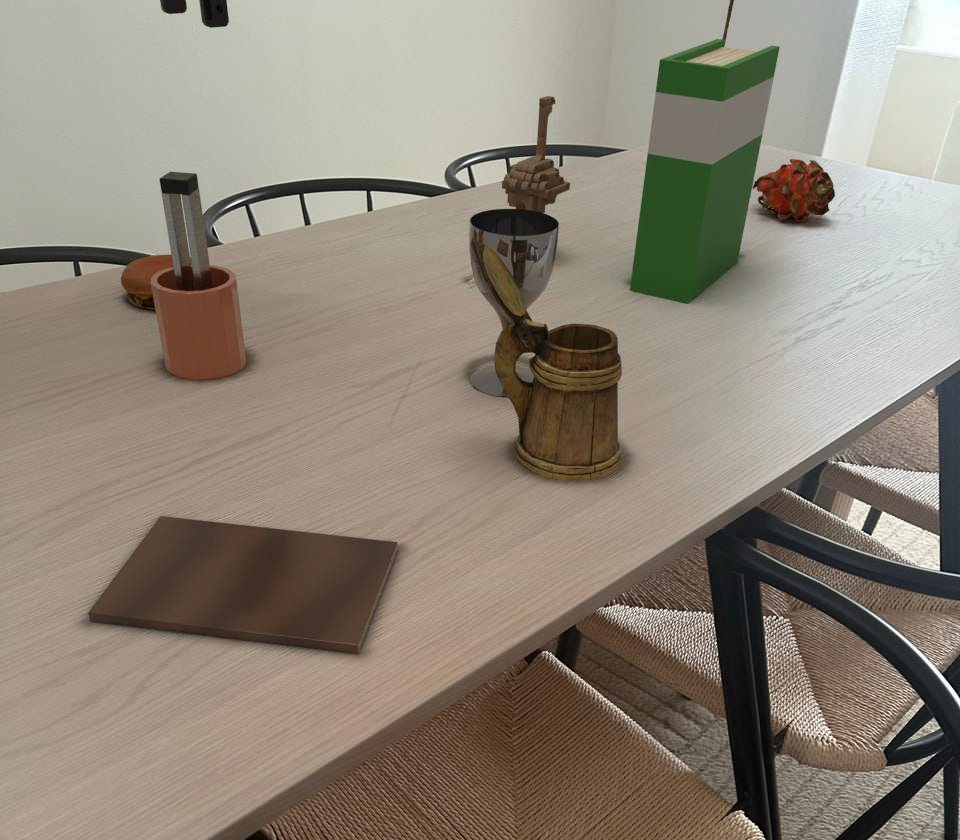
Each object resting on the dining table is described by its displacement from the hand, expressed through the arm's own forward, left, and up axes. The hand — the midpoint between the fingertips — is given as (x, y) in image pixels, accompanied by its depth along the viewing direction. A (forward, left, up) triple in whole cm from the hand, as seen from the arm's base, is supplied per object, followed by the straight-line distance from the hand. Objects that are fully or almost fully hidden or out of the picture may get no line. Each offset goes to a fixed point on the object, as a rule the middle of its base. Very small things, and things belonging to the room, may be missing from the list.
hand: (195, 19), depth 88 cm
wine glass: (+30, -8, -28) cm, 42 cm away
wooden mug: (+35, -23, -28) cm, 51 cm away
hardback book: (+48, +27, -28) cm, 62 cm away
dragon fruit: (+63, +55, -28) cm, 89 cm away
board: (+17, -46, -28) cm, 57 cm away
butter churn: (+50, +73, -28) cm, 93 cm away
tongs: (+1, -12, -27) cm, 30 cm away
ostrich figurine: (+26, +24, -28) cm, 45 cm away
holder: (+1, -12, -28) cm, 30 cm away
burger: (-9, +4, -28) cm, 30 cm away
